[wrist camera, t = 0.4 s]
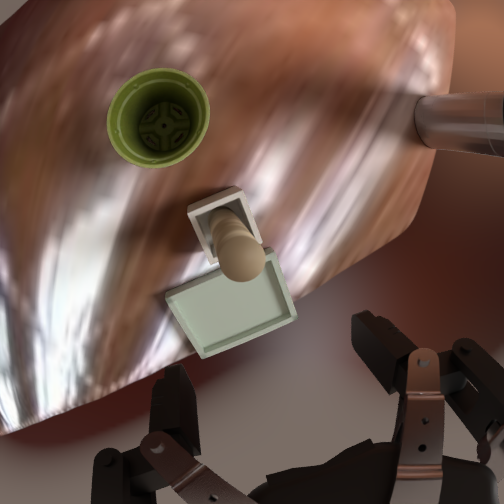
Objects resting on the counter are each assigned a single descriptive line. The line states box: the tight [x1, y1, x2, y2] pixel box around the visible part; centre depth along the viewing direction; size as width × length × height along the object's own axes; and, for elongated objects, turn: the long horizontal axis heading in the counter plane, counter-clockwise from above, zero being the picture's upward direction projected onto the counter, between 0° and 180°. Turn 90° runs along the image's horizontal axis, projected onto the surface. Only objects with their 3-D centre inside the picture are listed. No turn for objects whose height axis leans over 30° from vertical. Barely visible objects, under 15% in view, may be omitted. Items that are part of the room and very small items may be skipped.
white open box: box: [187, 186, 263, 265], centre depth 32 cm, size 6×6×5 cm
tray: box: [165, 247, 298, 359], centre depth 37 cm, size 15×11×2 cm
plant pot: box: [107, 68, 210, 168], centre depth 25 cm, size 9×9×9 cm
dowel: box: [208, 206, 266, 282], centre depth 27 cm, size 3×3×14 cm
